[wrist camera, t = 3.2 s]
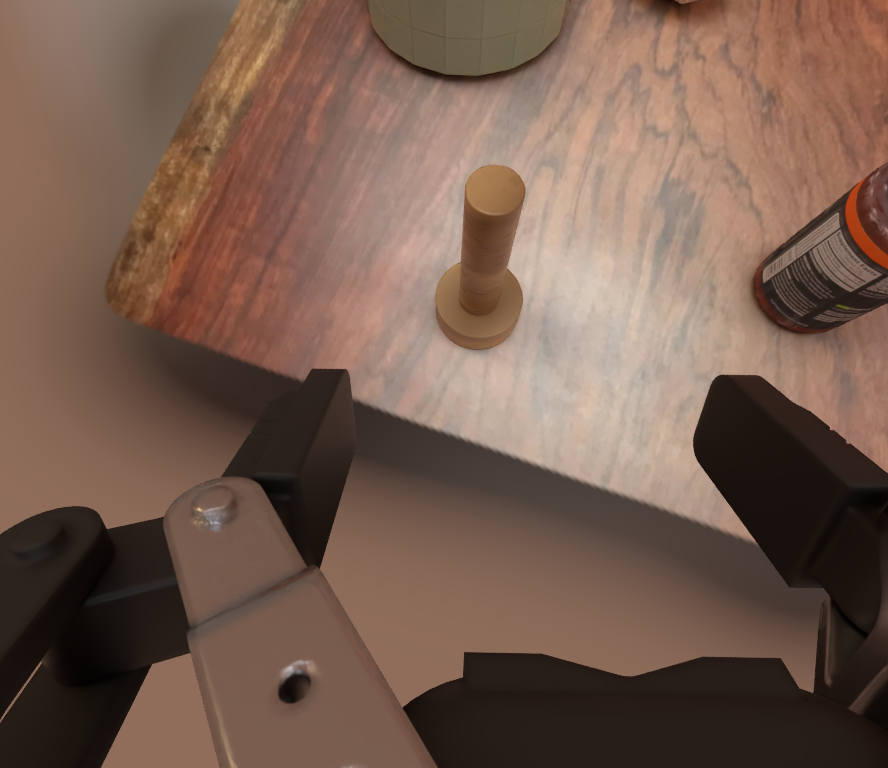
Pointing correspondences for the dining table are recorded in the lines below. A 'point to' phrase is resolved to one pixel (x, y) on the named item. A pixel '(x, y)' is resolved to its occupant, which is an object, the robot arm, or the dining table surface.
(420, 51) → the bowl
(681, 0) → the geometric ball
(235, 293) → the dining table surface
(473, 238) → the wooden peg on base
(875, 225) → the supplement bottle
